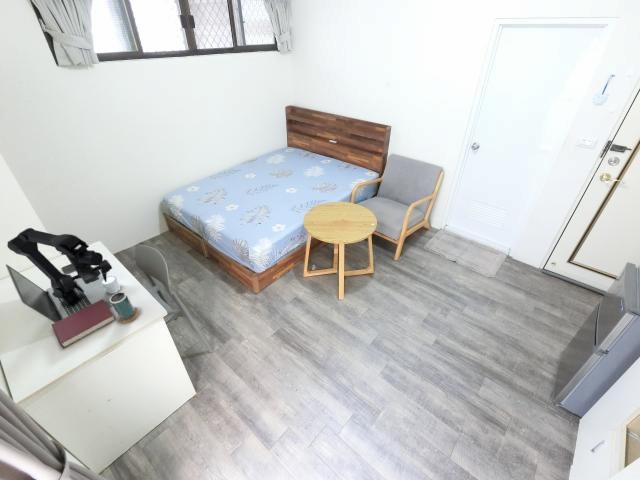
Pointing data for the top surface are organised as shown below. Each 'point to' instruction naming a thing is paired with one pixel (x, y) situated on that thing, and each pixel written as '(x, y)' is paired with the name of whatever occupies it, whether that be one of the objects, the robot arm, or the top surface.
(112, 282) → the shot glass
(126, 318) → the pencil cup
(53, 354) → the top surface
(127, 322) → the coaster
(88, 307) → the book
